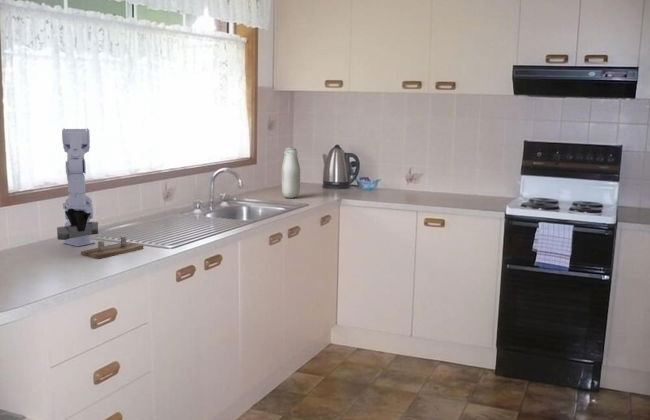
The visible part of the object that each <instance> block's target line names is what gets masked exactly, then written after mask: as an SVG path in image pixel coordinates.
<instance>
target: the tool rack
mask: <svg viewBox="0 0 650 420" xmlns="http://www.w3.org/2000/svg"><path fill="white" fill-rule="evenodd" d="M143 249H144V245H143V244H142V245H141V244H139V243H138V244H137V243H132V242H128V241H127V237H126V236H120V242H117V243H114V244H109V245H105V241H104V240H102V241H101V240H99V241H98V242H97V247H95V248H91V249H85V250H81V251H80V255H81V256H86V257H88V258H93V259H98V260H99V259H100V260H101V259H104V258H109V257H113V256H117V255H122V254H125V253H131V252H135V251H139V250H143Z"/></svg>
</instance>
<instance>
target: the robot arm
mask: <svg viewBox="0 0 650 420" xmlns="http://www.w3.org/2000/svg"><path fill="white" fill-rule="evenodd" d="M90 135H91V133H90V129H89V128H87V127H86V128H63V129H62V130H61V138H62V139H61V140H62V145H63V146H62V147H63V149H64V153H66V154H67V155H66V156H67V157H66V158H67V159H66V160H65V173H66V174H65V175H66V180H67V192H68V194H67V195H68V197H67V198H66V199H65V202H64V203H62V209H63V210H64V217H65V220H66V222H65V223H64V226H69V225H75V224H77V225H78V231H79V232H82V231H85V227H86V223H87V222H91V221H90V220H92V219H94V217H93V216H94V214H93V213H94V210H93V207H94V206H93V200H92V198H91V197H89V196H88V195H86V177H85V176H86V173H87V170H86V168H87V167H86V160H85V159H86V158H85V154H86V153H88V152H90V147H91V145H90V143H91V140H90ZM95 243H96V241H95V240H94V241H93V240H91V235H87V236H81V237H76V238H70V239H67V240H64V241H62V244H65V245H69V246H74V247H81V246H86V245H92V244H95Z"/></svg>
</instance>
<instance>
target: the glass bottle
mask: <svg viewBox="0 0 650 420" xmlns="http://www.w3.org/2000/svg"><path fill="white" fill-rule="evenodd" d="M298 158H299V157H298V150H297V148H296V147H289V146H288V147H286V148H284V151H283V160H282V165H281V172H280V173H281V175H280V176H281V193H282V195H283V196H284V198H288V199H295V198H296V197H298V196H299V194H300V191H301V168H300V163H299V159H298Z"/></svg>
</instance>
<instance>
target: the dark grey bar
mask: <svg viewBox="0 0 650 420" xmlns="http://www.w3.org/2000/svg"><path fill="white" fill-rule="evenodd" d="M98 234H99V222H98V221H90V222H87V223H86V227H85V231H82V232H79V231H78V225H77V224H75V225H69V226H65V225H64V226H57V227H56V236H57V238H56V239H57V240H58V241H59V240H60V241H62V240H63V241H65V240H67V239H70V238H76V237H81V236H87V235H90V236H92V235H98Z"/></svg>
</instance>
